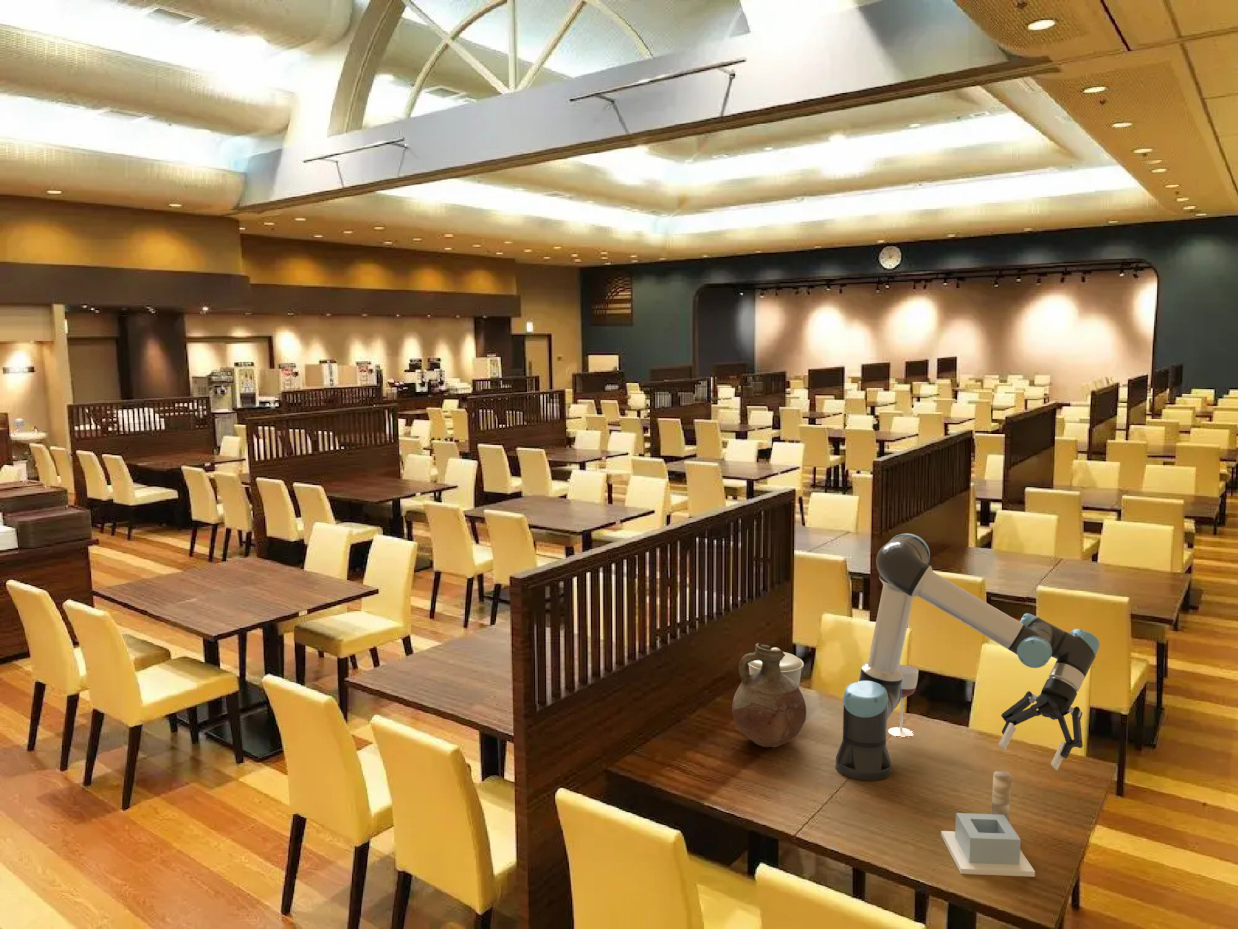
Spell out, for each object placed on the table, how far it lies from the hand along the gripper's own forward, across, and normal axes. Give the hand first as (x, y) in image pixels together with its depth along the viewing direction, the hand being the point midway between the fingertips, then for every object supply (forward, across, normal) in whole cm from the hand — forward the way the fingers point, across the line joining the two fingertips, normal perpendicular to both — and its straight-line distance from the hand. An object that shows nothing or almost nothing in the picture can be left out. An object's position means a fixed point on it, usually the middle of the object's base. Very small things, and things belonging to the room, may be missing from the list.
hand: (1027, 757), depth 224 cm
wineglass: (-1, +49, -23) cm, 54 cm away
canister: (+13, +84, -9) cm, 86 cm away
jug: (+26, +68, +4) cm, 73 cm away
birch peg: (+18, 0, -4) cm, 19 cm away
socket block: (+28, -4, +6) cm, 28 cm away
